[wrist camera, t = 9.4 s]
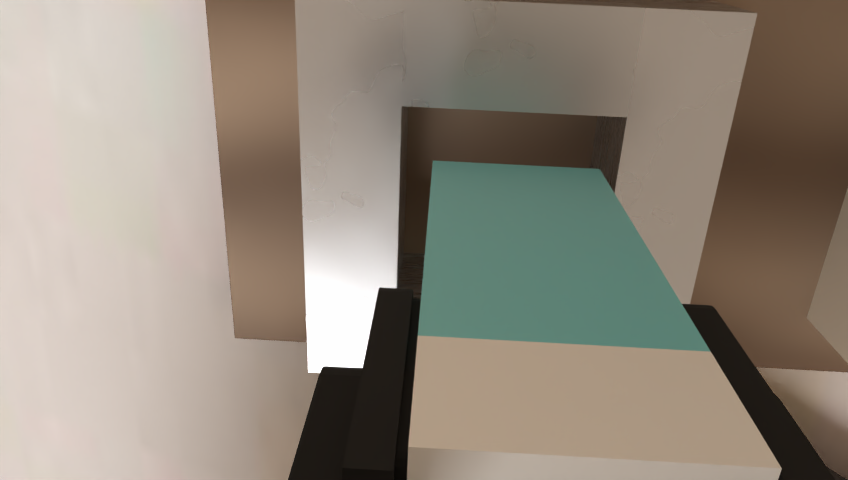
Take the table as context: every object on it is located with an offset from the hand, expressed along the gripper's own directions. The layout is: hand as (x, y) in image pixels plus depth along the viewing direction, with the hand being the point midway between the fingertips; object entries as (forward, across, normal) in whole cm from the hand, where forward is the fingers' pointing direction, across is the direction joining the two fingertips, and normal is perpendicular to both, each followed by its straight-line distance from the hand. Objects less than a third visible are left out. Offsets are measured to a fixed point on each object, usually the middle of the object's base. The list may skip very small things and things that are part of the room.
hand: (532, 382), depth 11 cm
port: (+10, 0, 0) cm, 10 cm away
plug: (+5, 0, 0) cm, 5 cm away
